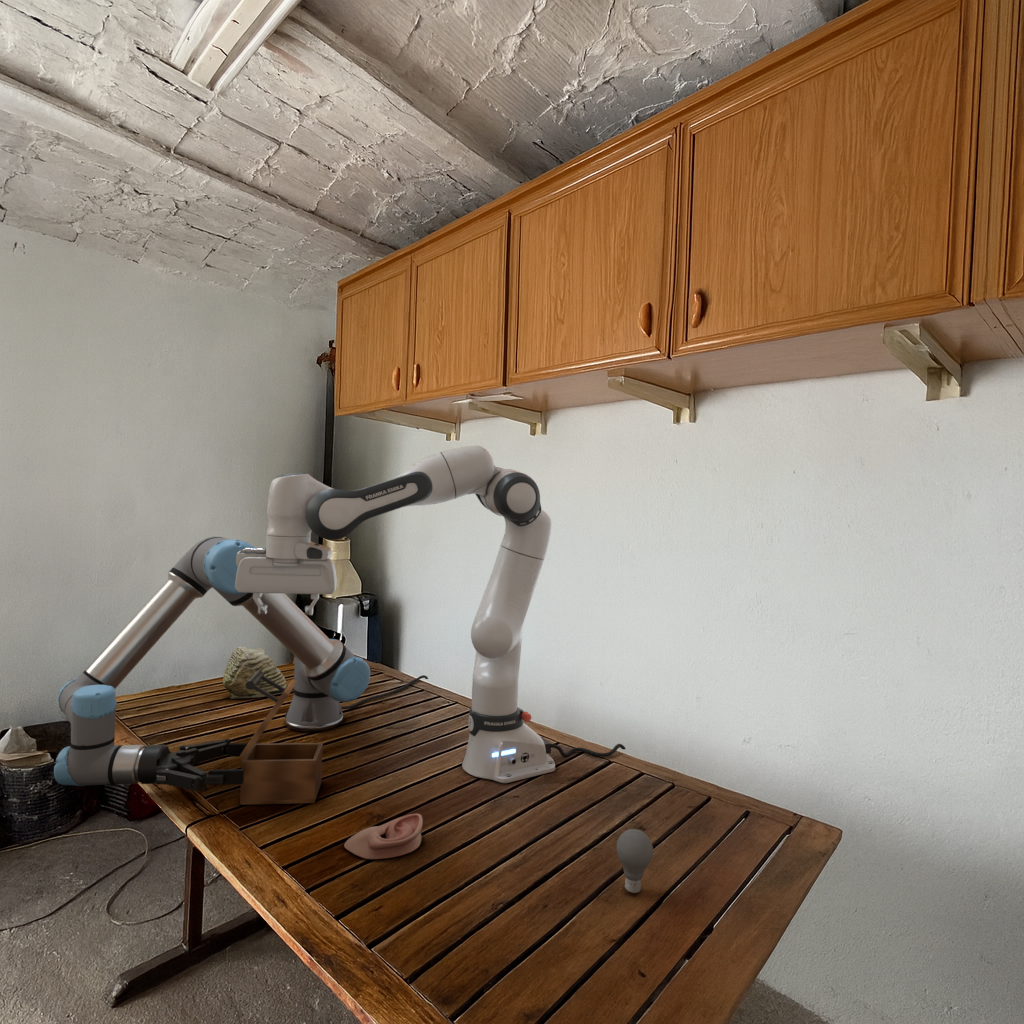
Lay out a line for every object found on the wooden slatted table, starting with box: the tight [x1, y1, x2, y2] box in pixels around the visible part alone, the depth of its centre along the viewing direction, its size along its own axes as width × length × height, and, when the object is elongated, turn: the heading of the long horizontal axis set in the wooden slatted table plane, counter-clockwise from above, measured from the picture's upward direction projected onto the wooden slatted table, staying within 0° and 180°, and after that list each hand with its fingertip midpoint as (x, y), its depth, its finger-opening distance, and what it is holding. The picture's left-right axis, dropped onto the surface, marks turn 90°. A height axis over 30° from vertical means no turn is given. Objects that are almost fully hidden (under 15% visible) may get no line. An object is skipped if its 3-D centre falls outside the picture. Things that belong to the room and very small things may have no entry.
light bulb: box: [615, 828, 654, 894], centre depth 106 cm, size 6×6×10 cm
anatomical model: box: [343, 813, 424, 860], centre depth 117 cm, size 13×4×12 cm
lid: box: [238, 671, 297, 760], centre depth 133 cm, size 16×9×8 cm
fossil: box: [222, 646, 288, 699], centre depth 198 cm, size 9×18×15 cm, turn 132°
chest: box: [239, 742, 324, 806], centre depth 134 cm, size 15×9×9 cm, turn 98°
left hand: (252, 762), depth 133 cm, fingers open, 13 cm apart
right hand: (285, 614), depth 134 cm, fingers open, 8 cm apart
